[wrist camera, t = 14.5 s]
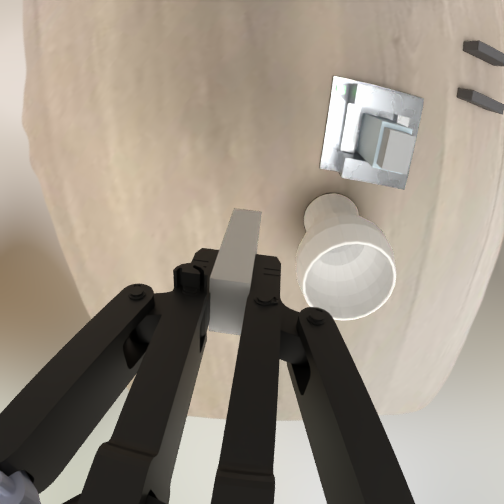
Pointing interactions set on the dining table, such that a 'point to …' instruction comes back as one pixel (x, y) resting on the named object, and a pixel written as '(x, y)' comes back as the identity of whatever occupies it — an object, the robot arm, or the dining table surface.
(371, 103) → the port
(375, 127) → the plug
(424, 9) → the dining table surface
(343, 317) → the cup
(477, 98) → the pair of dark bars
